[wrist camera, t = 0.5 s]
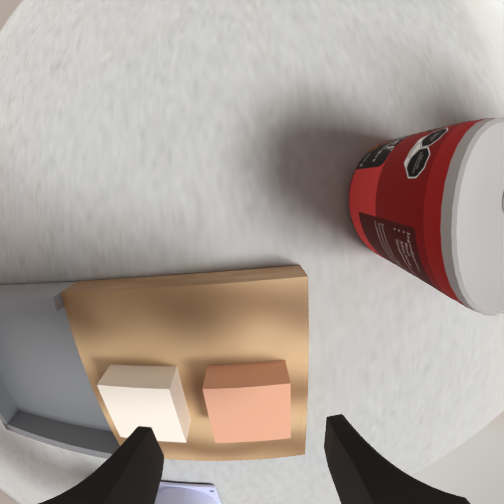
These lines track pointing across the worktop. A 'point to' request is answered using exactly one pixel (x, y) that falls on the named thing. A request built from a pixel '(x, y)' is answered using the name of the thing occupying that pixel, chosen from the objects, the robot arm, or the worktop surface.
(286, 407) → the tile
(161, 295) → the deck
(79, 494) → the robot arm
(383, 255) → the canned food
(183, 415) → the tile
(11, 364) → the tray
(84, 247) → the worktop surface
